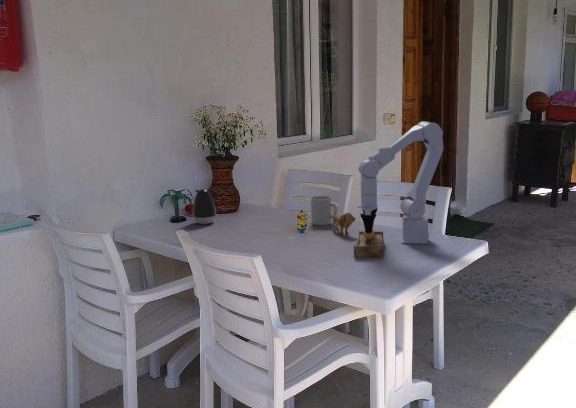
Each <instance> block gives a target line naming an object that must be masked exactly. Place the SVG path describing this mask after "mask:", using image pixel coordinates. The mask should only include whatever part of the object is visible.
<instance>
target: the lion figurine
mask: <svg viewBox="0 0 576 408" xmlns="http://www.w3.org/2000/svg"><path fill="white" fill-rule="evenodd" d="M355 221H356V217H355V216H353V213H352V212H346V213H344V214H342V215H339V214H337V215H335V216H334V217H333V218H332V225H331V226H330V227H329V228H330V229H332V232H333V233H336V231H337V230H339V227H340V236H345V235H349V234H350V233H349V232H348V229H349V228H350V227H351V226H352V225H353V223H355Z"/></svg>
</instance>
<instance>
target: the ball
mask: <svg viewBox="0 0 576 408" xmlns="http://www.w3.org/2000/svg"><path fill="white" fill-rule="evenodd" d="M363 235H364V238H365V239H367V240H371V239H373V237H374V235H375V234H374V230H373V229H372V233H366V232H365V230H364V233H363Z"/></svg>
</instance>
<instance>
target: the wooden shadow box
mask: <svg viewBox="0 0 576 408" xmlns="http://www.w3.org/2000/svg"><path fill="white" fill-rule="evenodd" d="M364 231H365V230H364ZM364 231H363V230H362V231H361V230H360V231H358V232H359V233H358V234H359V235H358V237H357V238H356V242H355V245H354V244H353V258H360V259H361V258H363V259H364V258H365V259H366V258H367V259H370V258H373V259H378V258H379V259H383V256H384V248H385V238H384V231H378V230H377V231H376V230H375V231H374V230H373V231H374V234H375V235H374V237H373V239H371V240H367V239H365V238H364V235H363V233H364Z"/></svg>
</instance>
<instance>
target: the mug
mask: <svg viewBox="0 0 576 408" xmlns="http://www.w3.org/2000/svg"><path fill="white" fill-rule="evenodd" d="M332 207H333V211H334V213H333V214H332ZM310 208H311V209H310V210H311V213H310V214H311V215H310V216H311V224H312V225H314V226H328V225H330V224H332V223H333V217H334V216H335V215H338V207H337V205H336V203H334V202H332V197H331V196H330V195H329V196H328V195H318V196H317V195H316V196H312V197H311V198H310Z"/></svg>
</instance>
